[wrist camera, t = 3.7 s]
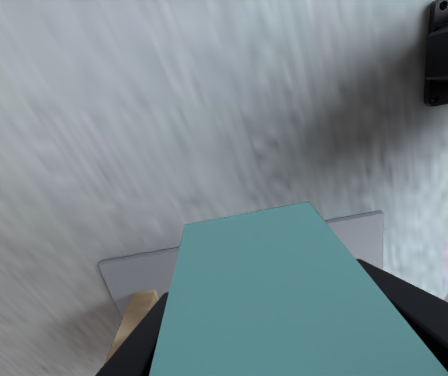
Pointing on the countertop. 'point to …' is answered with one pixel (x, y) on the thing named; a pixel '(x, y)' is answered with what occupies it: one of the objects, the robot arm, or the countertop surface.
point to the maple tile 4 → (133, 316)
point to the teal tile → (280, 305)
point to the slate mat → (166, 259)
